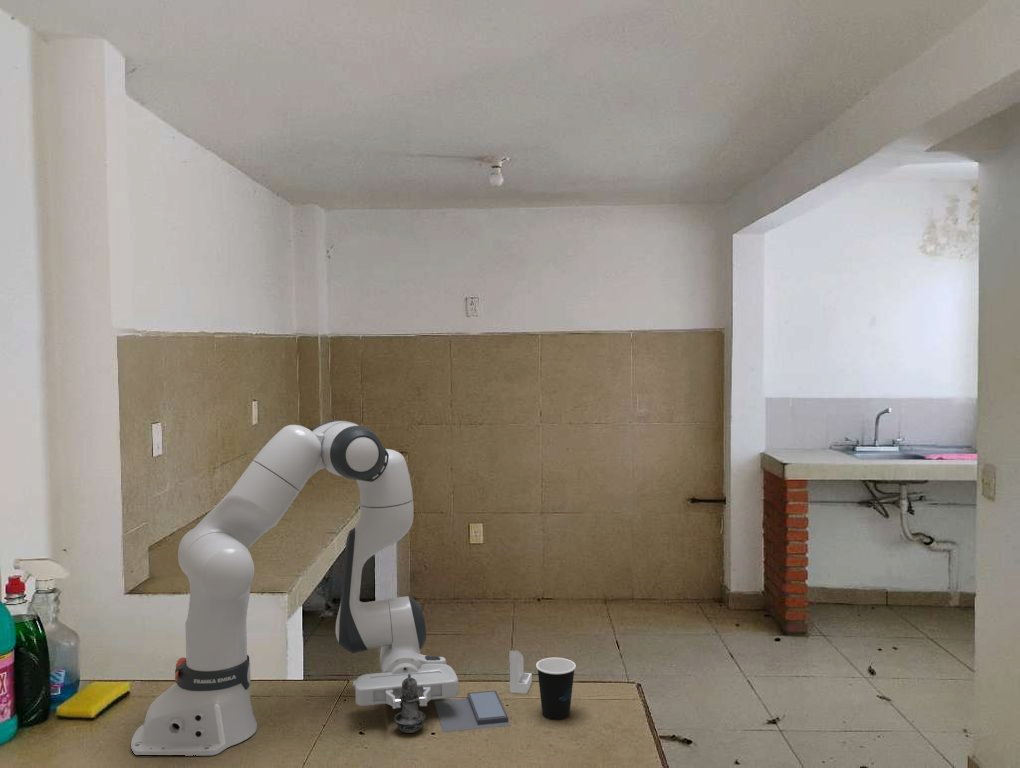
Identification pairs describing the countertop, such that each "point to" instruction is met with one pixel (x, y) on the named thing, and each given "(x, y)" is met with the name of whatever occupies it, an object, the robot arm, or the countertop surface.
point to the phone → (487, 707)
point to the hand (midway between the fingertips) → (410, 703)
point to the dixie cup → (555, 686)
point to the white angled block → (518, 674)
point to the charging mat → (459, 716)
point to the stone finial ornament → (409, 708)
